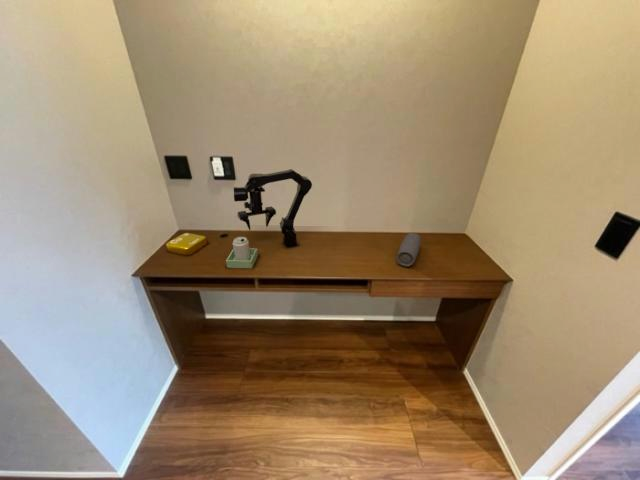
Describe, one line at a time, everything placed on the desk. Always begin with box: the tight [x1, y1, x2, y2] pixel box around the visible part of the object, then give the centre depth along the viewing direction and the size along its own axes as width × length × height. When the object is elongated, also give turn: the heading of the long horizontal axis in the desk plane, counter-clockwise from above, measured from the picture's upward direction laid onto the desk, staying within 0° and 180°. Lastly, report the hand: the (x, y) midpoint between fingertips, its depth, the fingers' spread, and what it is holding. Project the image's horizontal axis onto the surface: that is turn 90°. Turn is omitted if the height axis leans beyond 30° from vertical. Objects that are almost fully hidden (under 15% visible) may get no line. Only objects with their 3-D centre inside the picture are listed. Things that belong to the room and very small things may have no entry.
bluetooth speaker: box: [396, 232, 422, 267], centre depth 135 cm, size 23×9×10 cm, turn 154°
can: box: [232, 236, 251, 261], centre depth 129 cm, size 8×8×12 cm
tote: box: [225, 247, 259, 269], centre depth 131 cm, size 12×12×4 cm
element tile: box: [165, 232, 208, 256], centre depth 143 cm, size 15×15×5 cm
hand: (258, 228), depth 139 cm, fingers open, 9 cm apart
